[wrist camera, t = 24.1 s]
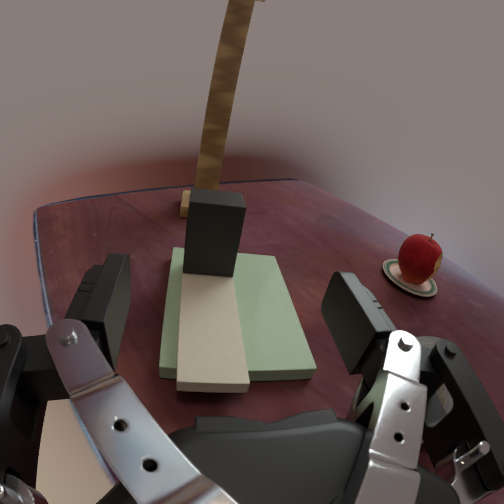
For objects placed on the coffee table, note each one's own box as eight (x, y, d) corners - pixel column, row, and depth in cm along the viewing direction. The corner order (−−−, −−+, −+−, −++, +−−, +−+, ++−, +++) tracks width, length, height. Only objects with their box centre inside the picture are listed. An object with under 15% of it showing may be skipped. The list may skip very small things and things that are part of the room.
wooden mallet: (176, 390, 15) (178, 295, 11) (183, 263, 26) (191, 187, 22) (247, 393, 16) (276, 301, 12) (228, 267, 27) (241, 193, 23)
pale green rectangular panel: (159, 378, 17) (158, 366, 16) (172, 257, 28) (173, 247, 28) (311, 379, 19) (317, 368, 18) (272, 266, 31) (274, 256, 30)
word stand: (179, 217, 36) (223, -30, 21) (182, 199, 42) (220, -15, 26) (226, 221, 38) (275, -21, 22) (223, 204, 43) (266, -7, 28)
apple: (427, 272, 37) (445, 232, 33) (441, 306, 30) (466, 259, 26) (378, 256, 38) (395, 213, 34) (385, 289, 31) (409, 238, 28)
